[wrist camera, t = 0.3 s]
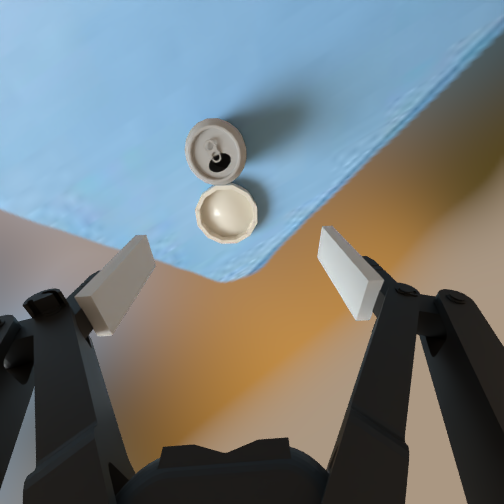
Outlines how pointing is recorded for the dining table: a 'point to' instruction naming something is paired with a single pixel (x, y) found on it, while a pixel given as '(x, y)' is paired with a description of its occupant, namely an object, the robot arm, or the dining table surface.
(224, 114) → the dining table surface
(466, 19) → the dining table surface
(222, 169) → the can
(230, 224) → the bowl
